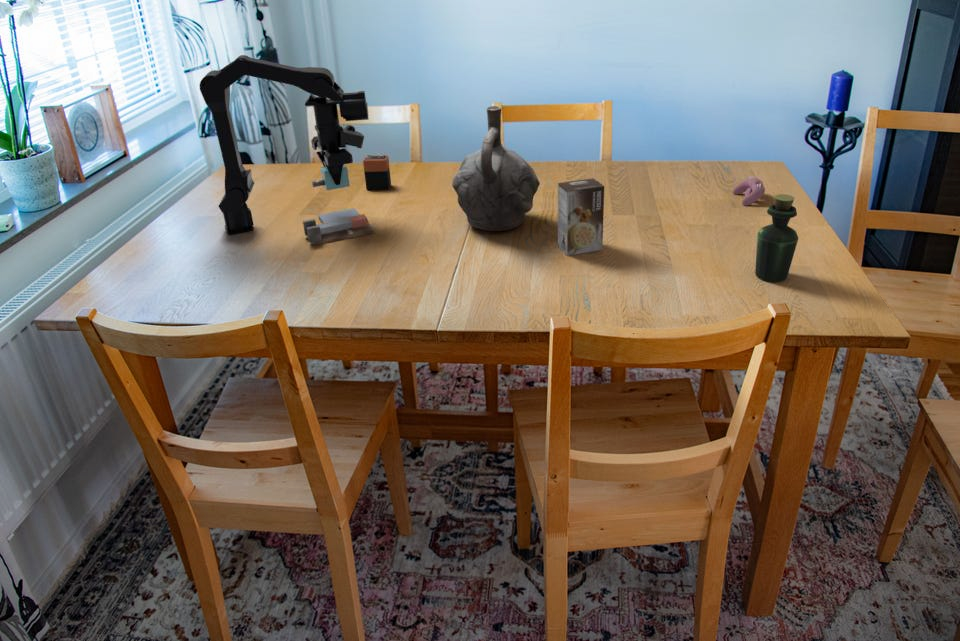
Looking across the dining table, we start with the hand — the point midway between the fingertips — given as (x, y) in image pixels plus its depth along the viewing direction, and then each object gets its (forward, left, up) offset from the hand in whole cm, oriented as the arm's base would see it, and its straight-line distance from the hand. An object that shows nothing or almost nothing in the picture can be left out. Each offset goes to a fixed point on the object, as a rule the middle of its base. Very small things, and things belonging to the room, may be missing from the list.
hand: (335, 182), depth 194 cm
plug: (-2, 0, -1) cm, 2 cm away
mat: (0, 0, -11) cm, 11 cm away
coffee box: (+47, -45, -11) cm, 66 cm away
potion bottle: (+76, -77, -11) cm, 108 cm away
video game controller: (+102, -39, -11) cm, 110 cm away
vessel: (+35, -22, -11) cm, 42 cm away
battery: (+17, +20, -11) cm, 28 cm away
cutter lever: (-3, -9, -9) cm, 13 cm away
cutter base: (-2, -9, -11) cm, 14 cm away
